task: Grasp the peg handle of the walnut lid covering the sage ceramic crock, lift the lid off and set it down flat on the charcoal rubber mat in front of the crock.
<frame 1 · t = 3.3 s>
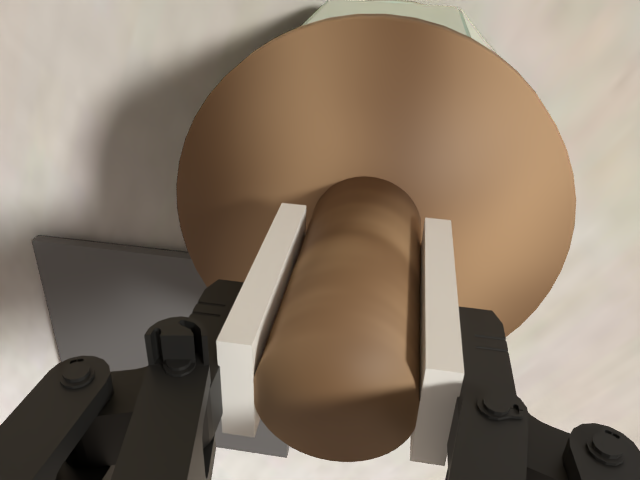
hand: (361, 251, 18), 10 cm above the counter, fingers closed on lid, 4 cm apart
bowl: (381, 142, 26), on the counter
mat: (173, 351, 34), on the counter
lid: (368, 212, 20), point 7 cm above the counter, touching bowl, gripper
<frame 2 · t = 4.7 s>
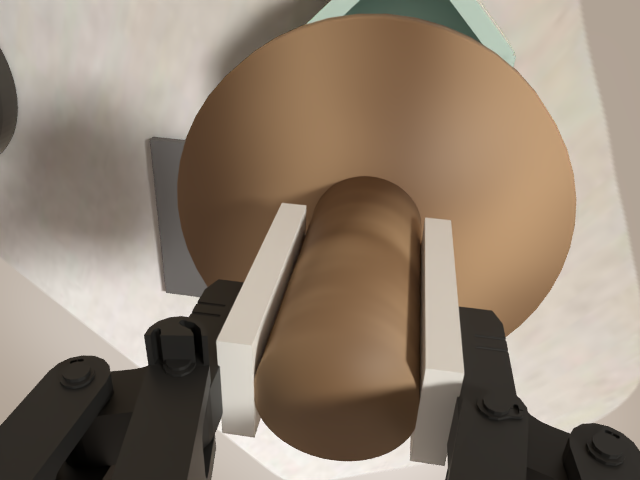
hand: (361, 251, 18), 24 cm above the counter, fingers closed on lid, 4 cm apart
bowl: (401, 62, 39), on the counter
mat: (244, 228, 47), on the counter
lid: (368, 212, 20), point 22 cm above the counter, touching gripper
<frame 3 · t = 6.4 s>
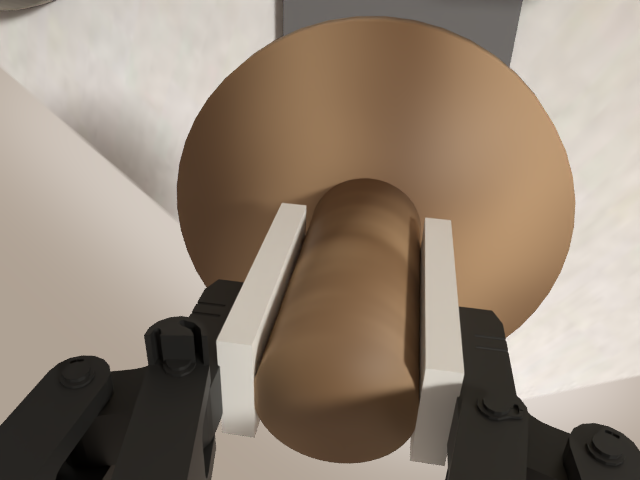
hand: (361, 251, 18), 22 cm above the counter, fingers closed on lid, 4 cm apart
mat: (392, 71, 37), on the counter
lid: (368, 214, 20), point 20 cm above the counter, touching gripper
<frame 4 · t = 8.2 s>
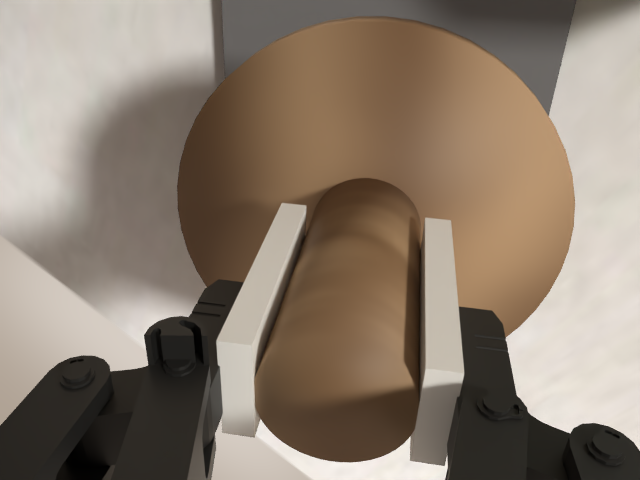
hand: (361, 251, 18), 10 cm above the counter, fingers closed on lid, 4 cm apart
mat: (379, 134, 27), on the counter
lid: (368, 214, 20), point 8 cm above the counter, touching gripper
when the fingers open (5 cm above the counter, at t = 9.6 s): lid drops 2 cm, resting on mat.
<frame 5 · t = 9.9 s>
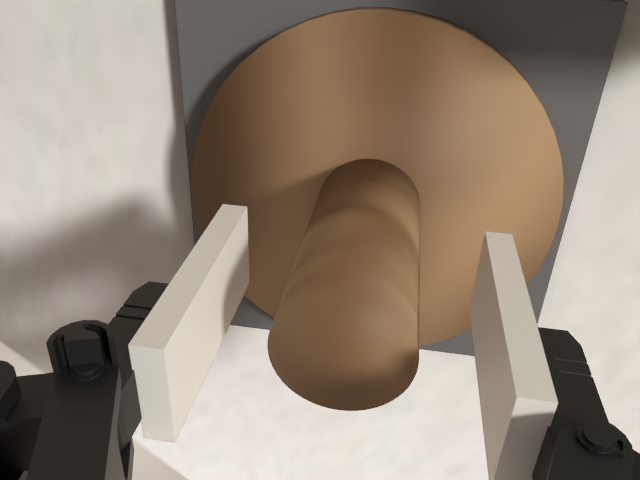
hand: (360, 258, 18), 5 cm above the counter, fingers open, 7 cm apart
mat: (372, 186, 22), on the counter
lid: (370, 194, 22), point 1 cm above the counter, touching mat
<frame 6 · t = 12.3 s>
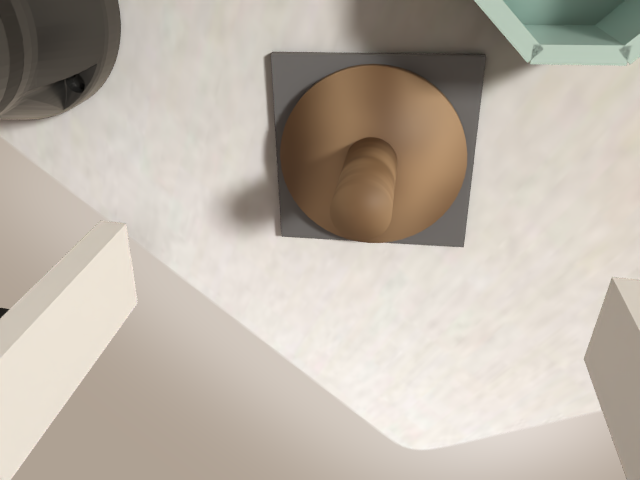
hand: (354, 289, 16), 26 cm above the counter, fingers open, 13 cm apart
mat: (373, 153, 42), on the counter
lid: (372, 156, 42), point 1 cm above the counter, touching mat
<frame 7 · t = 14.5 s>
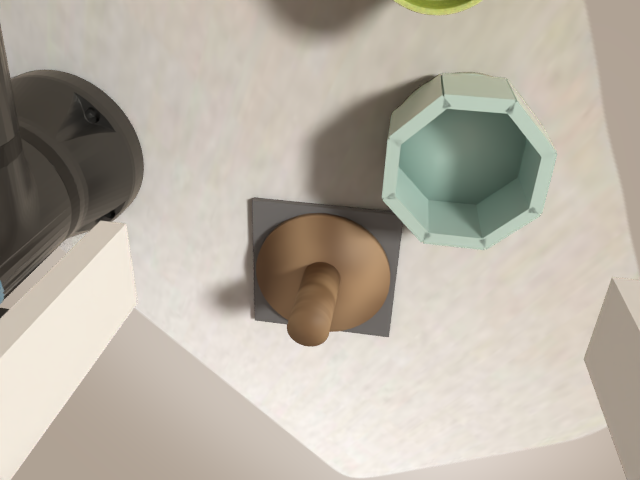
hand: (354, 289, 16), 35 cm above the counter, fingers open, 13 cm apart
bowl: (460, 143, 49), on the counter
mat: (324, 268, 57), on the counter
lid: (323, 272, 57), point 1 cm above the counter, touching mat
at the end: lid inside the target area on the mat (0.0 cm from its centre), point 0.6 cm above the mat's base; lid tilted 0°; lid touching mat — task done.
